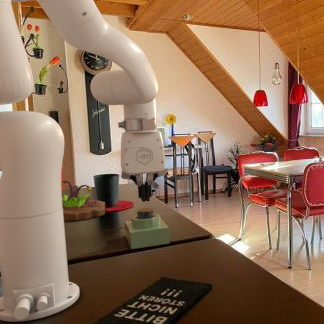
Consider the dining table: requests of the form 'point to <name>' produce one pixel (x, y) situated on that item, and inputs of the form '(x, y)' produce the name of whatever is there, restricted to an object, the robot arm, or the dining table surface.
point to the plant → (80, 205)
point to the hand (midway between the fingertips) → (145, 200)
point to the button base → (146, 232)
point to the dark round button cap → (145, 213)
